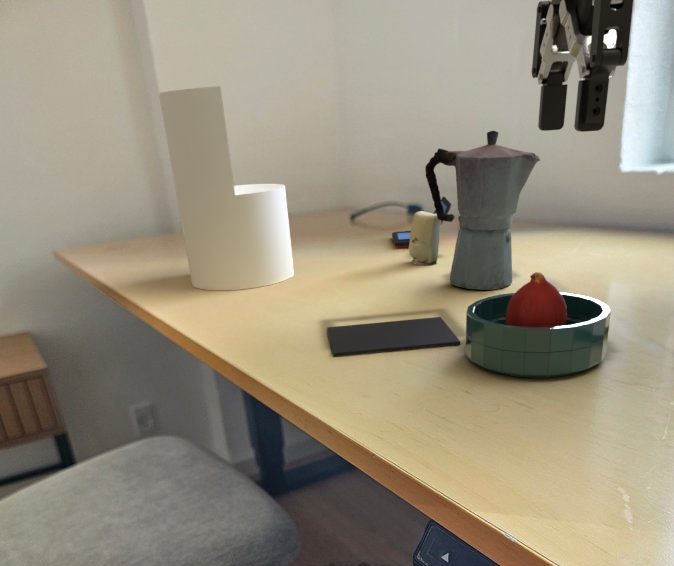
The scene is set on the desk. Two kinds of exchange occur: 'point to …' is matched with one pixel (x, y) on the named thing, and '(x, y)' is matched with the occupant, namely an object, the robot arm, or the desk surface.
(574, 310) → the bowl
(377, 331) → the mat
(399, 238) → the handheld console
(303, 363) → the desk surface
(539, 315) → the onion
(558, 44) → the robot arm
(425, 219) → the cream rounded pillar
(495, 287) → the moka pot
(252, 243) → the white cylindrical chair
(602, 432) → the desk surface
